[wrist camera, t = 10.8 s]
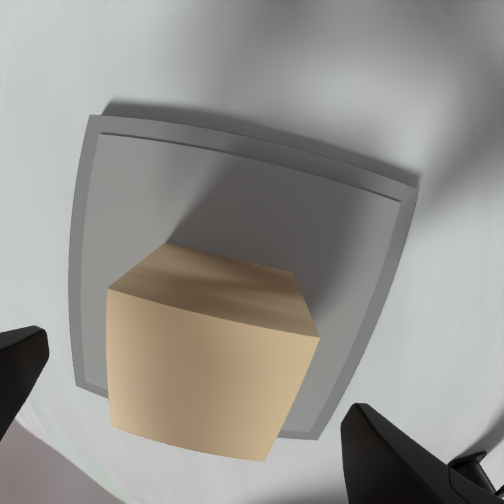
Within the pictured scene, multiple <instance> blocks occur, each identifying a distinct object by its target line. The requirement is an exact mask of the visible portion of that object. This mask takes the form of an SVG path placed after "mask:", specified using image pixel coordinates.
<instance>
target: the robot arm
mask: <svg viewBox="0 0 504 504" xmlns="http://www.w3.org/2000/svg"><path fill="white" fill-rule="evenodd" d="M48 358H49V346H48V338H47V333H46V331H45V330H44V329H42V328H40V327H38V326H35V325H34V326H29V327H24V328H20V329H15V330H11V331H6V332H1V333H0V441H1V440H2V438H3V436H4V434H5V433H6V431H7V429H8V428H9V426H10V424H11V423H12V421H13V420H14V418H15V416H16V415H17V413H18V412H19V410H20V409H21V407H22V405H23V404H24V402H25V401H26V399H27V398H28V396H29V394H30V392H31V391H32V389H33V387H34V385H35V383H36V381H37V379H38V377H39V375H40V374H41V372H42V370H43V368H44V366H45V364H46V363H47V361H48ZM340 430H341V443H342V459H343V471H344V478H345V483H346V489H347V495H348V501H349V504H504V500H503V499H502V498H503V497H504V485H503V486H502V487H500V489H499V490H498V491H496V490H495V488H494V486H493V485H492V483H491V481H490V480H489V478H488V477H487V475H486V473H485V472H484V470H483V469H482V467H481V465H480V464H479V463H480V462H481V461H482V460H483V458H484V457H485V456H486V455H487V453H486V451H484V452H481V453H478V454H475V455H472V456H469V457H466V458H463V459H460V460H456V461H453V462H451V463H450V464H449V465H448V466H447V465H446V464H445V463H443V462H442V461H440V460H439V459H438V458H436V457H435V456H434V455H432V454H431V453H430V452H428V451H427V450H426V449H424V448H423V447H422V446H420V445H419V444H418V443H417V442H415V441H414V440H413V439H411V438H410V437H409V436H407V435H406V434H405V433H404V432H402V431H401V430H400V429H398V428H397V427H396V426H395V425H393V424H392V423H391V422H390V421H388V420H387V419H386V418H384V417H383V416H382V415H381V414H379V413H378V412H377V411H376V410H374V409H373V408H372V407H371V406H370V405H368V404H366V403H354V404H353V405H352V406H351V407H350V409H349V411H348V412H347V414H346V416H345V417H344V419H343V421H342V423H341V428H340Z"/></svg>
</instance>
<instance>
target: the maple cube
mask: <svg viewBox="0 0 504 504" xmlns="http://www.w3.org/2000/svg"><path fill="white" fill-rule="evenodd" d="M319 340H320V336H319V334H318V331H317V329H316V326H315V324H314V322H313V319H312V317H311V314H310V312H309V310H308V307H307V305H306V302H305V300H304V298H303V295H302V293H301V291H300V288H299V286H298V283H297V281H296V279H295V276H294V274H293V272H291V271H287V270H282V269H278V268H274V267H269V266H265V265H260V264H256V263H252V262H247V261H243V260H239V259H234V258H230V257H226V256H221V255H217V254H213V253H209V252H204V251H200V250H196V249H192V248H187V247H183V246H179V245H175V244H170V243H166V242H165V243H164V244H163V245H161V246H160V247H159V248H157V249H156V250H155V251H153V252H152V253H151V254H150V255H148V256H147V257H146V258H144V259H143V260H142V261H141V262H139V263H138V264H137V265H135V266H134V267H133V268H132V269H130V270H129V271H128V272H127V273H125V274H124V275H123V276H122V277H120V278H119V279H118V280H117V281H116V282H114V283H113V284H112V285H111V286H109V287H108V288H107V305H106V361H107V382H108V396H109V408H110V418H111V426H112V427H115V428H117V429H120V430H123V431H126V432H129V433H132V434H135V435H138V436H141V437H144V438H148V439H151V440H154V441H158V442H161V443H165V444H169V445H173V446H177V447H181V448H185V449H189V450H194V451H199V452H203V453H209V454H214V455H219V456H225V457H232V458H238V459H246V460H254V461H263V462H264V461H265V459H266V457H267V456H268V454H269V452H270V450H271V448H272V446H273V444H274V442H275V440H276V438H277V436H278V434H279V432H280V430H281V428H282V426H283V423H284V421H285V419H286V417H287V415H288V413H289V411H290V409H291V406H292V404H293V402H294V400H295V397H296V395H297V393H298V391H299V388H300V386H301V384H302V382H303V379H304V377H305V374H306V372H307V370H308V367H309V365H310V362H311V360H312V358H313V355H314V353H315V350H316V348H317V345H318V342H319Z"/></svg>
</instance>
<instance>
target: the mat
mask: <svg viewBox="0 0 504 504" xmlns="http://www.w3.org/2000/svg"><path fill="white" fill-rule="evenodd" d="M418 192H419V190H418V189H416V188H413V187H411V186H408V185H406V184H403V183H401V182H398V181H395V180H393V179H390V178H387V177H385V176H382V175H379V174H376V173H374V172H371V171H368V170H365V169H362V168H359V167H356V166H353V165H350V164H347V163H344V162H341V161H338V160H334V159H331V158H328V157H325V156H321V155H318V154H314V153H311V152H307V151H304V150H300V149H296V148H293V147H289V146H285V145H281V144H277V143H273V142H269V141H265V140H261V139H256V138H252V137H247V136H243V135H238V134H233V133H228V132H223V131H218V130H213V129H207V128H202V127H196V126H190V125H183V124H177V123H170V122H163V121H155V120H147V119H138V118H128V117H117V116H104V115H90V116H89V120H88V124H87V128H86V132H85V136H84V141H83V146H82V151H81V156H80V161H79V167H78V172H77V179H76V185H75V192H74V200H73V209H72V218H71V230H70V244H69V270H68V297H69V323H70V337H71V349H72V358H73V366H74V374H75V381H76V386H78V387H81V388H83V389H85V390H88V391H90V392H93V393H95V394H98V395H100V396H103V397H106V398H108V399H109V396H108V382H107V361H106V305H107V288H108V287H109V286H111V285H112V284H113V283H114V282H116V281H117V280H118V279H119V278H120V277H122V276H123V275H124V274H125V273H127V272H128V271H129V270H130V269H132V268H133V267H134V266H135V265H137V264H138V263H139V262H141V261H142V260H143V259H144V258H146V257H147V256H148V255H150V254H151V253H152V252H153V251H155V250H156V249H157V248H159V247H160V246H161V245H163V244H164V243H165V242H166V243H170V244H175V245H179V246H183V247H187V248H192V249H196V250H200V251H204V252H209V253H213V254H217V255H221V256H226V257H230V258H234V259H239V260H243V261H247V262H252V263H256V264H260V265H265V266H269V267H274V268H278V269H282V270H287V271H291V272H293V274H294V276H295V279H296V281H297V283H298V286H299V288H300V291H301V293H302V295H303V298H304V300H305V302H306V305H307V307H308V310H309V312H310V314H311V317H312V319H313V322H314V324H315V326H316V329H317V331H318V334H319V336H320V340H319V342H318V345H317V348H316V350H315V353H314V355H313V358H312V360H311V362H310V365H309V367H308V370H307V372H306V374H305V377H304V379H303V382H302V384H301V386H300V388H299V391H298V393H297V395H296V397H295V400H294V402H293V404H292V406H291V409H290V411H289V413H288V415H287V417H286V419H285V421H284V423H283V426H282V428H281V430H280V432H279V434H278V436H277V437H279V438H290V439H305V440H318V438H319V437H320V435H321V433H322V432H323V430H324V428H325V427H326V425H327V423H328V421H329V420H330V418H331V416H332V414H333V413H334V411H335V409H336V407H337V405H338V404H339V402H340V400H341V398H342V396H343V394H344V392H345V390H346V388H347V387H348V385H349V383H350V381H351V379H352V377H353V375H354V373H355V370H356V368H357V366H358V364H359V362H360V360H361V358H362V356H363V354H364V351H365V349H366V347H367V345H368V342H369V340H370V338H371V335H372V333H373V331H374V328H375V326H376V324H377V321H378V319H379V316H380V314H381V311H382V309H383V306H384V303H385V301H386V298H387V296H388V293H389V290H390V287H391V285H392V282H393V279H394V276H395V273H396V270H397V267H398V264H399V261H400V258H401V255H402V252H403V248H404V245H405V242H406V238H407V235H408V231H409V228H410V224H411V220H412V217H413V213H414V209H415V205H416V201H417V197H418Z"/></svg>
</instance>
